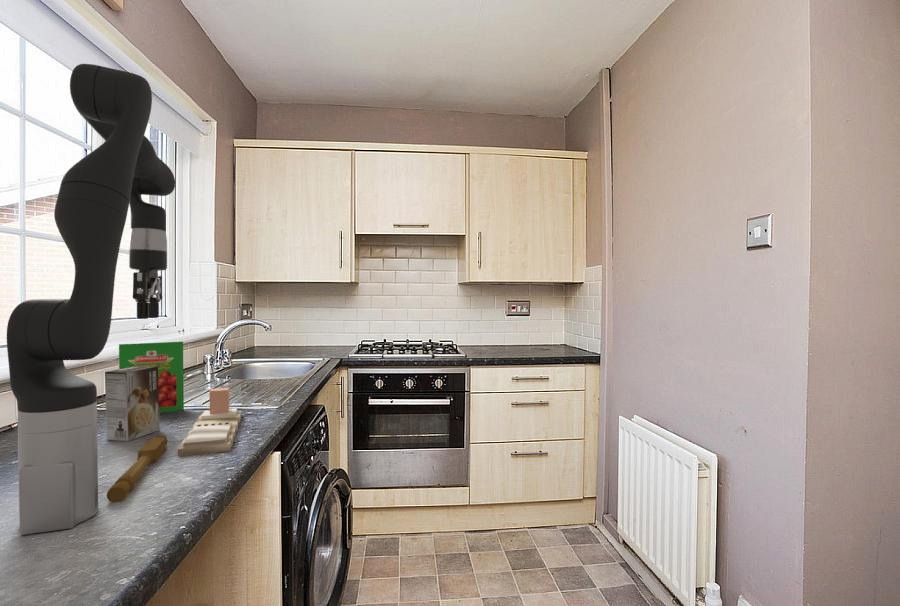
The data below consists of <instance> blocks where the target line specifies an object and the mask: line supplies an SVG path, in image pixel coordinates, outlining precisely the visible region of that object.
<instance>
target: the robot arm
mask: <svg viewBox="0 0 900 606" xmlns="http://www.w3.org/2000/svg"><path fill="white" fill-rule="evenodd" d="M69 80H70V81H69V93H70V97H71V101H72V103H73V105H74V107H75V109H76V110H77V112H78V113H79V115H80V117H82V118H83V119H84V120H85V122H87V123H88V124H89V126H90V127H92V128H93V130H94V131H95V132H96V133H97V134H98V135H99V136H100V137H101V138H102V139H103V140H104V142H103V143H102V144H101V145H99V146H98V147H96V148H95V149H94V150H92V151H91V152H90V153H88V154H87V155H85V156H84V157H82V158H81V159H80V160H79V161H77V162H76V163H75V164H74V165H72V166H71V167H70V168H69V169H68V170H67V171H66V173H65V174H64V175H63V177H62V179H61V182H60V187H59V190H58V193H57V194H58V195H57V199H56V202H55V206H54V211H53V212H54V214H53V215H54V216H53V217H54V221H55V224H56V227H57V229H58V232H59V234H60V236H61V238H62V240H63V242H64V243H65V246H66V247H67V249H68V251H69V254H70V255H71V257H72V259H73V264H74V282H73V288H72V292H71V296H70V297H69V298H33V299H27V300H25V301H23V302H20V303H19V304H17V305H16V307H14V309H13V310H12V311H11V314H10V316H9V318H8V322H7V326H6V349H7V360H8V371H9V381H10V382H9V383H10V389H11V391H12V394H13V395H14V398H15V399H16V405H17V408H16V409H17V451H18V452H17V459H18V461H17V463H18V466H17V468H18V469H17V471H18V473H17V474H18V511H19V514H18V515H19V535H20V536H23V535H24V536H25V535H31V534H38V533H44V532H45V533H46V532H47V533H48V532H53V531H60V530H68V529H73V528H74V527H75V526H76V525H78V524H80V523H83V522H85V521H87V520H88V519H90V518H92V517H93V516H94V515H96V514H97V513H98V511H99V475H98V474H99V472H98V469H99V466H98V403H97V402H98V392H97V390H98V389H97V385H96V384H95V383H94V382H93V381H90V380H88V379H84V378H83V377H80V376H77V375H75V374H74V373H72V372H71V371H70V370H68V368H66V366H65V363H64V362H65V361H87V360H92V359H94V358H96V357H97V356H98V355H100V353H102V351H103V350H104V348H105V346H106V344H107V341H108V338H109V335H110V331H111V325H112V316H113V315H112V314H113V305H114V303H113V302H114V292H115V291H114V290H115V281H116V272H117V270H116V269H117V266H118V265H117V263H118V260H119V254H120V248H121V243H122V238H123V234H124V228H125V225H126V222H127V216H128V211H129V209H130V233H129V247H128V248H129V249H128V254H129V255H128V256H129V258H128V259H129V261H128V264H129V265H128V266H129V268H130V270H134V272H133V273H132V299H133V300H135V303H136V318H137V319H139V320H146V319H157V318H159V317H160V302H161V301H162V300H163V276H162V275H158V271H167V269H168V237H167V211H166V210H165V208H164V207H162V206H160V205H156V204H153V203H149V202H146V201H144V200H143V198H142V195H143V196H158V197H165V196H168V195H171V194H172V193H173V192H174V190H175V188H176V179H175V175H174V173H173V171H172V170H171V168H170V166H168V165H167V164H166V163H165V162H164V161H163V160H162V159H161V158H159V157H158V155H157V152H156V150H155V148H154V145H153V144H152V142H151V141H150V140H149V139H148V137H147V136H146V131H147V127H148V124H149V120H150V116H151V112H152V104H153V92H152V89H151V86H150V83H149V82H148V80H147V78H145V77H143V76H141V75H139V74H136V73H133V72H129V71H124V70H120V69H117V68H116V69H115V68H111V67H106V66H102V65H98V64H92V63H91V64H89V63H80V64H77V65H76V66H75V67H74V68H73V70H72V72H71V75H70V79H69ZM135 271H138V272H135Z"/></svg>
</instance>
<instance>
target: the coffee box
mask: <svg viewBox="0 0 900 606" xmlns="http://www.w3.org/2000/svg"><path fill="white" fill-rule="evenodd" d="M104 380H105V381H104V384H105V388H104V389H105V419H106V420H105V423H106V424H105V426H106V429H105V430H106V440H107V441H108V440H109V441H121V442H130V441H133V440H136V439H138V438H141V437H143V436H147V435H150V434H151V433H152V434H153V433H155V432H158V431H160V428H161V427H160V413H159V385H158V366H134V367H128V368H123V369H119V368H117V369H113V370H107V371H104Z"/></svg>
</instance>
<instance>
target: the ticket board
mask: <svg viewBox="0 0 900 606" xmlns="http://www.w3.org/2000/svg"><path fill="white" fill-rule="evenodd" d="M202 414H203V413H201V414H200V415H199V416H198V418H197V419H196V421H195V423H193V425H192V426H191V428H190V430H189V431H188V433H187V434H186V436H185V437H184V439H183V440H182V442H181V443H180V445H178V448H177V457H181V456H183V457H184V456H193V455H203V454H212V453H221V452H230V451H231V448H232V446H233V443H234V440H235V437H236V434H237V431H238V428H239V424H240V422H241V420H242V416H243V415H242V410H239V411H238V410H237V414H236V417H233V418H220V419H208V420H201V415H202Z"/></svg>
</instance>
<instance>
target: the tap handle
mask: <svg viewBox="0 0 900 606" xmlns="http://www.w3.org/2000/svg"><path fill="white" fill-rule="evenodd" d="M168 441H169V440H168V437H167V436H165V435H164V434H161V435H157V436H155V437H154V438H149V439H148V440H147V441H146V442H145V443H143V444H142V446H141V447H140V448H139V449H138V452H137V458H136V461H135V462H134V463H133V464H132V465H131V466H130V467H129V468H128V469H127V470H126V471H124V473H122V475H121V476H120V477H119V478H118V479H117V480H115V483H114V484H112V485H111V486H110V488H109V489H108V491H107V492H106V498H107V500H108V501H109V502H110V503H119V502H123V501H124V500H125V499H126V498H127V497H128V495H130V494H129V493H130V492H131V491H132V490H133V489H134V488H135V486H136V484H137V483H138V482H139V480H140V479H141V477H142V475H143V474H144V473H145V471H146V470H147V468H148V467H149V466H151V465H153V464H157V462H158V461H159V460H160V459H161V458H162V456H163V454H164V453H165V452H166V450H167V449H166V448H167V444H168Z"/></svg>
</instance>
